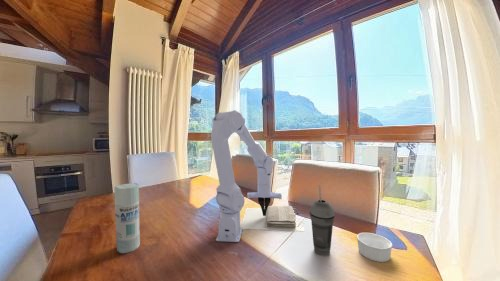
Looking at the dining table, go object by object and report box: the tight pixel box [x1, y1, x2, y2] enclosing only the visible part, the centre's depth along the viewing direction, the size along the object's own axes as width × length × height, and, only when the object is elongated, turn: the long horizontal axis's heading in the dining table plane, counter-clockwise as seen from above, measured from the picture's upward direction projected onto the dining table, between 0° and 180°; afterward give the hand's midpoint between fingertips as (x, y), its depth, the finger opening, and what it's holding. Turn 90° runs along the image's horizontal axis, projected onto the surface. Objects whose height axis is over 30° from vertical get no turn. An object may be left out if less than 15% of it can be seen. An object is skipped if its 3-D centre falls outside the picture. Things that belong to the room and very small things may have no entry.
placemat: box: [240, 207, 305, 232], centre depth 83 cm, size 21×24×1 cm
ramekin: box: [356, 232, 393, 263], centre depth 57 cm, size 9×9×4 cm
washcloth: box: [267, 205, 296, 228], centre depth 82 cm, size 12×18×3 cm, turn 176°
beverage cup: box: [309, 184, 336, 257], centre depth 58 cm, size 7×7×20 cm
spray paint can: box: [113, 182, 141, 254], centre depth 61 cm, size 6×6×20 cm
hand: (264, 214), depth 82 cm, fingers closed
